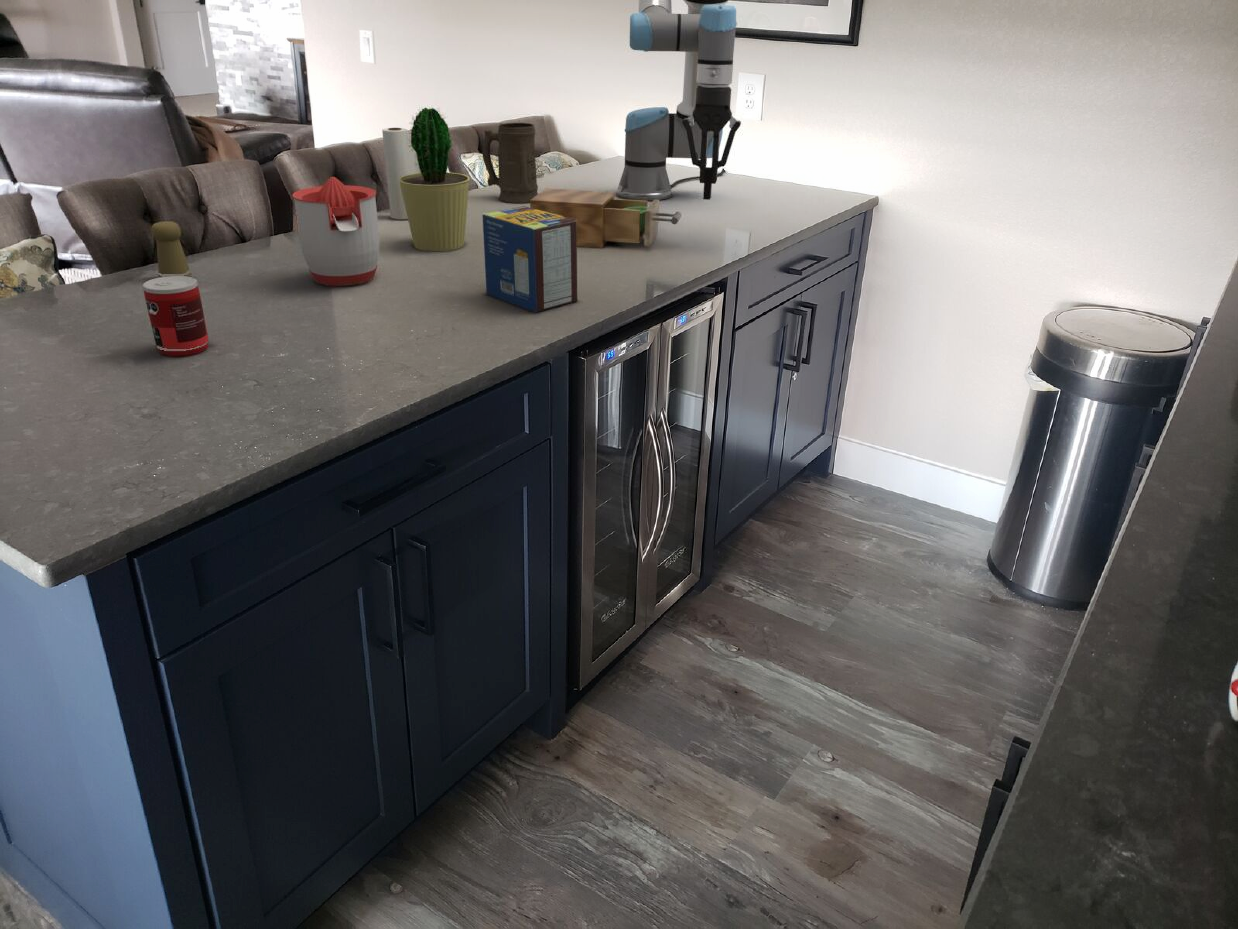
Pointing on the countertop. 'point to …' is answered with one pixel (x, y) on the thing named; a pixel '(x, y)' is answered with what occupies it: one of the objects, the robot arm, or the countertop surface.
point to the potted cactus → (434, 187)
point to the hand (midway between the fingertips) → (707, 198)
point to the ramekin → (642, 215)
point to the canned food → (176, 314)
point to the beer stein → (513, 161)
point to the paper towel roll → (398, 166)
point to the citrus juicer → (338, 232)
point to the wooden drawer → (632, 221)
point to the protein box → (530, 257)
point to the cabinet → (577, 211)
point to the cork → (169, 248)
